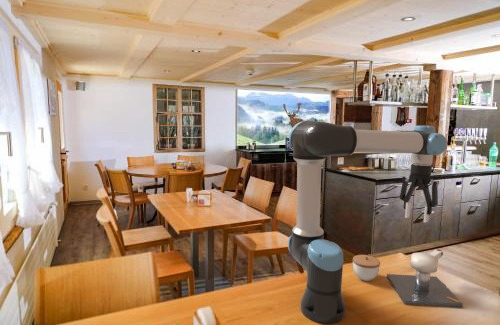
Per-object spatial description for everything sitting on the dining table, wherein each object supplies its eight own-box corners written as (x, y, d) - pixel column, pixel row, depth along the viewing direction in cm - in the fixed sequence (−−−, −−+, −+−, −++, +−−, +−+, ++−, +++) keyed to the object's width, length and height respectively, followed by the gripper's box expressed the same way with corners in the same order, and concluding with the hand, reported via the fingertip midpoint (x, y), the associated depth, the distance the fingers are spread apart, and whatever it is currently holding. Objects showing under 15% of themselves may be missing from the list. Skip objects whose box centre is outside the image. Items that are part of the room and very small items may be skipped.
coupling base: (404, 304, 121) (406, 279, 120) (386, 277, 141) (388, 255, 139) (462, 307, 119) (465, 282, 118) (436, 280, 139) (438, 258, 138)
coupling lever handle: (431, 275, 122) (432, 264, 122) (406, 266, 129) (407, 256, 129) (451, 260, 135) (452, 251, 135) (428, 253, 142) (429, 244, 141)
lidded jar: (347, 271, 145) (349, 251, 144) (371, 271, 146) (372, 250, 145) (358, 284, 135) (359, 262, 133) (383, 283, 136) (385, 261, 134)
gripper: (393, 162, 140) (388, 215, 143) (444, 168, 125) (438, 227, 128) (401, 160, 145) (397, 212, 148) (452, 166, 130) (445, 223, 133)
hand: (416, 219), depth 138 cm, fingers open, 7 cm apart
